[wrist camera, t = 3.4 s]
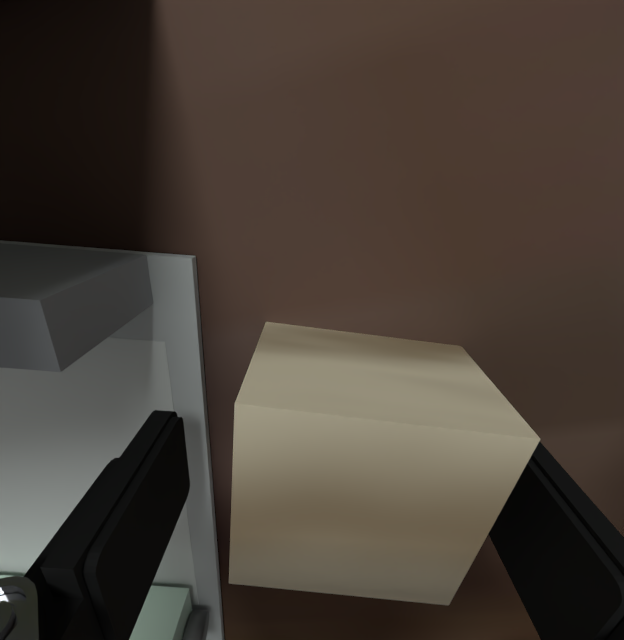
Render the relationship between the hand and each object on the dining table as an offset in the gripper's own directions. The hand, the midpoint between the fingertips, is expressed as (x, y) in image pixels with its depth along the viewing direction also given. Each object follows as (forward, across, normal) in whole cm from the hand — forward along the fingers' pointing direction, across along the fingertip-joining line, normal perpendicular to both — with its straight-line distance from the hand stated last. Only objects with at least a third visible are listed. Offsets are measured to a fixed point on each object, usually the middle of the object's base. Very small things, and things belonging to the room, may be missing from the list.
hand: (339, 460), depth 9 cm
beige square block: (+2, 0, 0) cm, 2 cm away
